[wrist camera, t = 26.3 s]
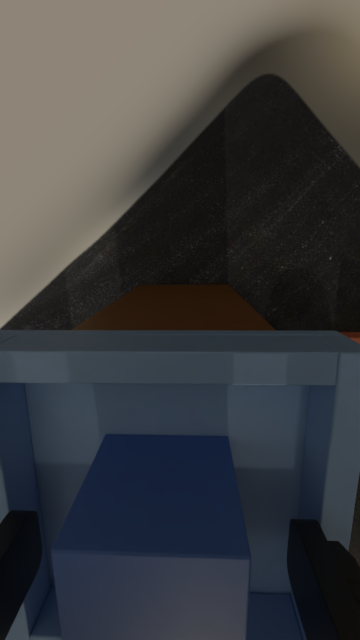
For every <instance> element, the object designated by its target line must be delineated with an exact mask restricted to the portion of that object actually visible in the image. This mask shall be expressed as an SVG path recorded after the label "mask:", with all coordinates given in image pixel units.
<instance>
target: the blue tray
mask: <svg viewBox="0 0 360 640" xmlns="http://www.w3.org/2000/svg"><path fill="white" fill-rule="evenodd" d="M106 434H125V435H185V436H227V437H228V438H229V443H230V448H231V453H232V458H233V464H234V469H235V474H236V479H237V485H238V490H239V495H240V500H241V505H242V511H243V516H244V521H245V526H246V532H247V537H248V542H249V547H250V552H251V574H250V592H249V611H248V629H247V640H306V636H305V633H304V629H303V626H302V622H301V619H300V616H299V612H298V609H297V605H296V602H295V598H294V595H293V592H292V588H291V585H290V581H289V576H288V570H287V548H288V536H289V525H290V520H291V519H316V520H317V521H318V522H319V524H320V526H321V528H322V530H323V532H324V534H325V537H326V539H327V541H339V542H340V543H341V544H342V545H343V546H344V547H345V549H346V550H347V551H348V550H349V543H350V536H351V529H352V522H353V515H354V508H355V501H356V494H357V487H358V480H359V472H360V344H359V343H357V342H355V341H354V340H352V339H350V338H348V337H347V336H344V335H343V334H341V333H339V332H337V331H276V330H275V329H274V328H273V327H272V326H271V325H270V324H269V323H268V322H267V321H266V320H265V319H264V318H263V317H262V316H261V315H259V314H258V313H257V312H256V311H255V310H254V309H253V308H252V307H251V306H250V305H249V304H248V303H247V302H246V301H245V300H244V299H243V298H242V297H241V296H240V295H239V294H238V293H237V292H235V291H234V290H233V289H232V288H231V287H230V286H229V285H228V284H202V285H139V286H138V287H136V288H135V289H133V290H132V291H130V292H129V293H127V294H126V295H124V296H122V297H121V298H119V299H118V300H116V301H115V302H113V303H112V304H110V305H109V306H107V307H106V308H104V309H103V310H101V311H100V312H98V313H97V314H95V315H93V316H92V317H90V318H89V319H87V320H86V321H84V322H83V323H81V324H80V325H78V326H77V327H75V328H74V329H72V330H0V523H1V522H2V520H3V519H4V517H5V516H6V515H7V514H8V513H9V512H10V511H11V510H25V511H36V512H37V514H38V519H39V526H40V534H41V541H42V559H41V563H40V567H39V570H38V572H37V574H36V577H35V579H34V581H33V583H32V585H31V587H30V589H29V591H28V593H27V595H26V597H25V599H24V602H23V604H22V606H21V608H20V610H19V612H18V614H17V616H16V618H15V620H14V622H13V624H12V626H11V629H10V631H9V633H8V635H7V637H6V639H5V640H62V638H61V630H60V622H59V614H58V607H57V599H56V591H55V583H54V575H53V567H52V560H51V549H52V547H53V544H54V542H55V540H56V538H57V536H58V534H59V532H60V530H61V528H62V525H63V523H64V521H65V519H66V517H67V515H68V513H69V511H70V509H71V506H72V504H73V502H74V500H75V498H76V496H77V494H78V492H79V490H80V487H81V485H82V483H83V481H84V479H85V477H86V475H87V473H88V471H89V468H90V466H91V464H92V462H93V460H94V458H95V456H96V454H97V452H98V449H99V447H100V445H101V443H102V441H103V439H104V437H105V435H106Z"/></svg>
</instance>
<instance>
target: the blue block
mask: <svg viewBox="0 0 360 640" xmlns="http://www.w3.org/2000/svg"><path fill="white" fill-rule="evenodd" d="M51 560H52V567H53V575H54V583H55V591H56V599H57V607H58V614H59V622H60V630H61V638H62V640H247V629H248V611H249V592H250V574H251V552H250V547H249V542H248V537H247V532H246V526H245V521H244V516H243V511H242V505H241V500H240V495H239V490H238V485H237V479H236V474H235V469H234V464H233V458H232V453H231V448H230V443H229V438H228V437H227V436H185V435H125V434H106V435H105V437H104V439H103V441H102V443H101V445H100V447H99V449H98V452H97V454H96V456H95V458H94V460H93V462H92V464H91V466H90V468H89V471H88V473H87V475H86V477H85V479H84V481H83V483H82V485H81V487H80V490H79V492H78V494H77V496H76V498H75V500H74V502H73V504H72V506H71V509H70V511H69V513H68V515H67V517H66V519H65V521H64V523H63V525H62V528H61V530H60V532H59V534H58V536H57V538H56V540H55V542H54V544H53V547H52V549H51Z"/></svg>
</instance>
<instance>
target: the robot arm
mask: <svg viewBox="0 0 360 640" xmlns="http://www.w3.org/2000/svg"><path fill="white" fill-rule="evenodd" d="M41 559H42V541H41V534H40V526H39V519H38V514H37V512H36V511H25V510H11V511H10V512H9V513H8V514H7V515H6V516H5V517H4V519H3V520H2V522H1V523H0V640H5V639H6V637H7V635H8V633H9V631H10V629H11V626H12V624H13V622H14V620H15V618H16V616H17V614H18V612H19V610H20V608H21V606H22V604H23V602H24V599H25V597H26V595H27V593H28V591H29V589H30V587H31V585H32V583H33V581H34V579H35V577H36V574H37V572H38V570H39V567H40V563H41ZM287 570H288V576H289V581H290V585H291V588H292V592H293V595H294V598H295V602H296V605H297V609H298V612H299V616H300V619H301V622H302V626H303V629H304V633H305V636H306V640H360V567H359V565H358V564H357V562H356V560H355V558H354V557H353V556H352V555H351V554H350V553H349V552H348V551H347V550H346V549H345V547H344V546H343V545H342V544H341V543H340V542H339V541H327V539H326V537H325V534H324V532H323V530H322V528H321V526H320V524H319V522H318V521H317V520H316V519H291V520H290V525H289V536H288V548H287Z"/></svg>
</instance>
